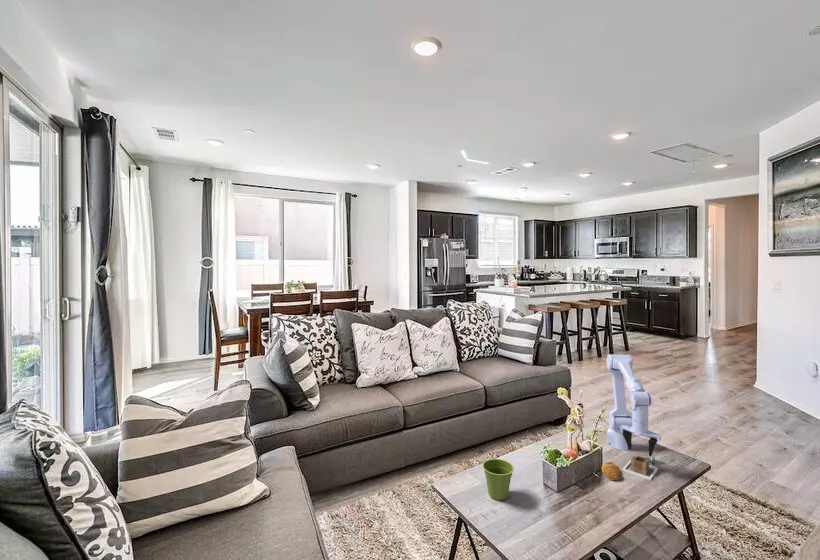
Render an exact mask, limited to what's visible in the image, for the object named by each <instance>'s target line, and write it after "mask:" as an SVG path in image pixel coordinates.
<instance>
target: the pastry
mask: <svg viewBox="0 0 820 560" xmlns="http://www.w3.org/2000/svg"><path fill="white" fill-rule="evenodd" d="M601 471H602V474H603V475H604V476H605V477H606V478H607V479H609V480H610V481H619V480H620V479H621V470H620V467H619V466H618V465H617V464H615V463H614V462H611V461H606V462H603V463H602V465H601Z"/></svg>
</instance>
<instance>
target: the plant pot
mask: <svg viewBox="0 0 820 560" xmlns="http://www.w3.org/2000/svg"><path fill="white" fill-rule="evenodd" d="M481 465H482V466H481V467H482V469H483V470H484V476H485V480H486V485H487V486H486V487H487V492H488V495H489V497H490V496H491V497H492V498H491V497H490V498H491V499H493V500H497V501H501V500H506V499H508V496H509V490H510V484H511V478H512V476H513V473H514V471H515V467H514V465H513V464H512V463H511V462H509V461H507V460H505V459H502V458H490V459H485V460H484V461H483V463H482V464H481Z"/></svg>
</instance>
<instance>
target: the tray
mask: <svg viewBox="0 0 820 560" xmlns="http://www.w3.org/2000/svg"><path fill="white" fill-rule="evenodd" d="M629 466H631V459H630V460H629V461H628V462H627V464H625V466H624V467H623V468H622V471H623V472H626V473H629V474H631V475H635V476H637V477H640V478H644V479H645V480H649V481H651V480H652V479H653V477H654V476H655V475H656V473H657V471H658V467H655V466H652V465H649V469H651V470H653V471H652V473H651V474H650V476H646V475H643V474H640V473H637V472H634V471H631V470H629V469H627V468H628V467H629Z"/></svg>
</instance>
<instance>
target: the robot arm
mask: <svg viewBox="0 0 820 560" xmlns="http://www.w3.org/2000/svg"><path fill="white" fill-rule="evenodd" d="M633 365H634V360H633V357H632V356H631V355H630V354H610V353H609V354H607V356H606V369H607V372H609V373H611V379H612V391H613V400H614V408H613V409H611V410H610V411H609V413H608V424H609V426H608V428H607V432H606V445H607V446H609V447H611V448H614V449H616V450H620V451H630V450H631V449H632V447H633V446H632V445H633V444H632V437H633V434H634V435H636V436H639V437H641V436H642V437H645V438H649V440H648V456H649V457H650V456H652V453H654V448H655V446H656V444H657V443H658V442H661V441H662V434H658V433H656V432H653V431H651V430H649V407H650V406H651V405H652V397H651V393H650V392H649V391H648V390H647V389H645V388H644V386H643V385H642V383H641V380H640V379H639V378H637V377H636V376H635V374H634V371H633ZM624 378H625V381H624ZM625 386H626V388H627V391H628V392H629V400H630V408H631V409H632V410H631V411H630V410H629V409H627V401H626V390H625Z"/></svg>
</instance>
